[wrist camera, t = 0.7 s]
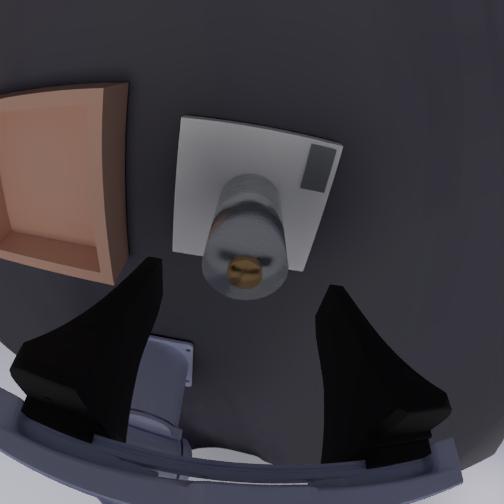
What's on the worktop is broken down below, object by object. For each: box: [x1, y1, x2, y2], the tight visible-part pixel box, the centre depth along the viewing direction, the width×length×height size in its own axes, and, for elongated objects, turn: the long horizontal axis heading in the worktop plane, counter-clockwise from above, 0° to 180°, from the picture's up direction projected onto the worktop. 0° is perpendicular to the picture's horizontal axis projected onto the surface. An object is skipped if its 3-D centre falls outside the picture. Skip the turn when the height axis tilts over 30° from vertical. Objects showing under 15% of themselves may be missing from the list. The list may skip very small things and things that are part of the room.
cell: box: [202, 174, 288, 300], centre depth 16 cm, size 4×4×8 cm
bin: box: [0, 82, 129, 285], centre depth 17 cm, size 14×14×4 cm
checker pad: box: [173, 115, 343, 272], centre depth 20 cm, size 10×10×1 cm
